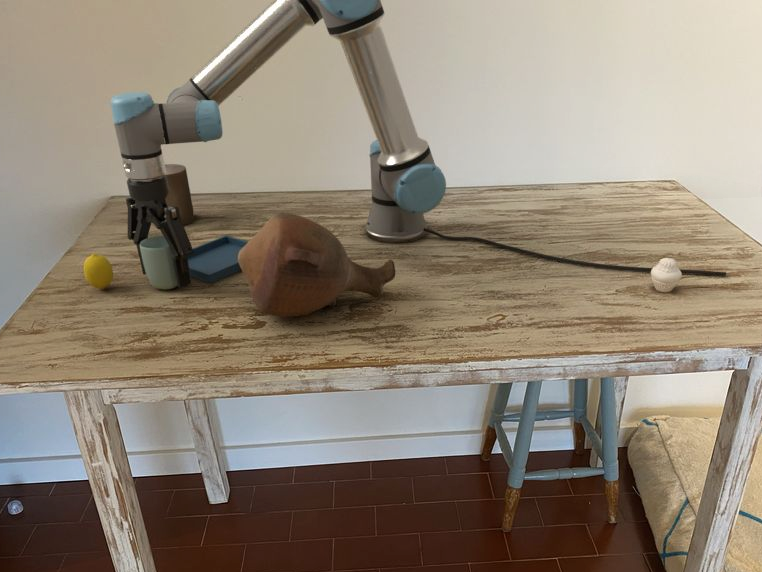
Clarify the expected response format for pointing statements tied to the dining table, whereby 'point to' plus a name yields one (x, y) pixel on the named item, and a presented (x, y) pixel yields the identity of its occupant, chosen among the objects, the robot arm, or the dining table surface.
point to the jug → (303, 268)
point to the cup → (158, 262)
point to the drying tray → (216, 259)
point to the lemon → (98, 271)
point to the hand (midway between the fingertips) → (166, 278)
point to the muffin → (666, 275)
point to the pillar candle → (179, 192)
